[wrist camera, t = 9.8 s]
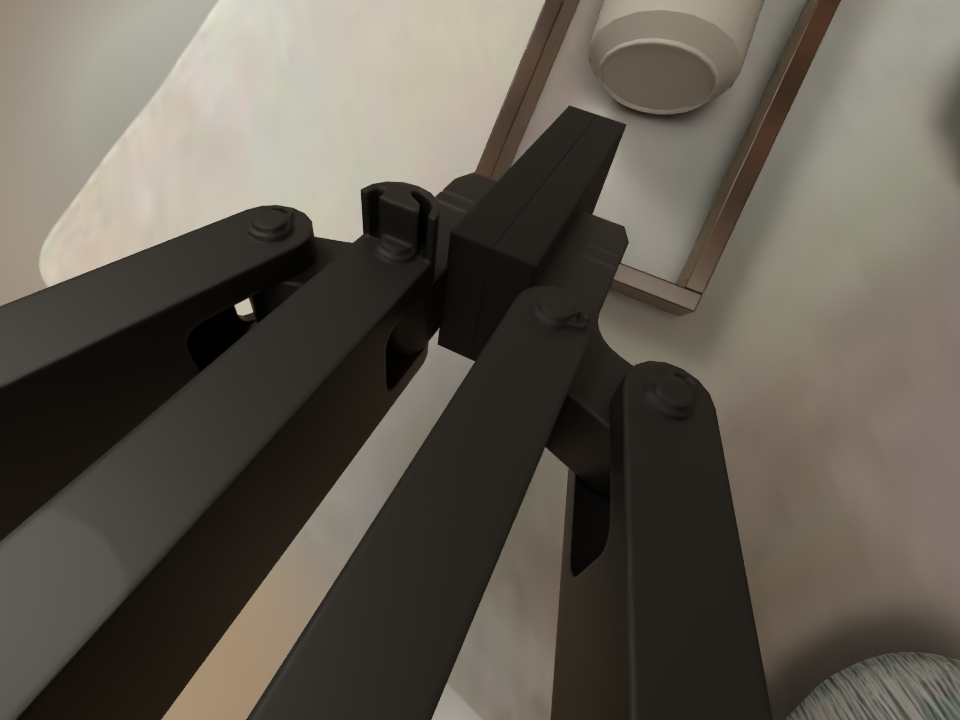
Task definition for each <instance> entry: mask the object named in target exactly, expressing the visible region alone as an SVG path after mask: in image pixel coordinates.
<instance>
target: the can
mask: <svg viewBox="0 0 960 720" xmlns="http://www.w3.org/2000/svg"><path fill="white" fill-rule="evenodd" d="M763 2H764V0H604V1H603V4H602V7H601V10H600V14H599V17H598V20H597V23H596V27H595V30H594V33H593V37H592V40H591V43H590V50H589V61H590V64H591V67H592V69H593V72H594V74H595V75H596V77H597V78H598V79H599V81H600V83H601V86H602V88H603V89H604V90H605V91H606V92H607V94H608V95H609V96H610V97H611V98H613V99H614V100H616V101H617V102H619V103H620V104H622V105H624V106H627V107H629V108H632V109H634V110H637V111H641V112H646V113H651V114H669V115H670V114H677V113H684V112H688V111H691V110H693V109H696V108H699V107H701V106H702V105H704V104H705V103H706V102H708V101H709V100H712V99H714V98H716V97H718V96H719V95H720V94H722V93H723V92H724V91H726V90H727V89H728V88H730V87H731V86H732V85H733V83H734V81H735V80H736V78H737V76H738V75H739V73H740V71H741V68H742V65H743V62H744V59H745V56H746V53H747V50H748V47H749V44H750V41H751V38H752V35H753V32H754V29H755V26H756V23H757V20H758V17H759V14H760V11H761V8H762V5H763Z"/></svg>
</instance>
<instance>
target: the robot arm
mask: <svg viewBox="0 0 960 720" xmlns="http://www.w3.org/2000/svg"><path fill="white" fill-rule="evenodd" d="M625 127H626V124H623V123H620V122H617V121H614V120H611V119H608V118H605V117H602V116H599V115H596V114H593V113H590V112H587V111H584V110H581V109H578V108H575V107H572V106H569V107H568V108H567V109H566V110H565V111H564V112H563V113H562V114H561V115H560V116H559V117H558V118H557V119H556V120H555V121H554V122H553V123H552V125H551V126H550V127H549V128H548V129H547V130H546V131H545V132H544V133H543V134H542V135H541V136H540V137H539V138H538V139H537V140H536V141H535V142H534V144H533V145H532V146H531V147H530V148H529V149H528V150H527V151H526V152H525V153H524V154H523V155H522V156H521V157H520V158H519V159H518V160H517V162H516V163H515V164H514V165H513V166H512V167H511V168H510V169H509V170H508V171H507V172H506V173H505V174H504V175H503V176H502V177H501V178H500V179H499V181H495V180H493V179H490V178H487V177H485V176H482V175H479V174H477V173H471V174H468V175H465V176H462V177H459V178H456V179H454V180H453V181H452V182H451V183H450V184H449V185H448V186H447V187H446V188H445V189H443V192H440V193H439V194H438V195H437V196H436V197H434V196H433V195H432V194H431V193H430V192H428V191H426V190H424V189H423V188H421V187H419V186H415V185H412V184H408V183H404V182H382V183H376V184H372V185H370V186H367V187H365V188H363V189H361V201H362V218H363V235H362V236H361V237H360V238H358V239H357V240H356V241H355V242H354V243H349V242H342V241H336V240H330V239H324V238H318V237H314V233H313V227H312V221H311V220H310V219H309V218H308V217H307V216H306V214H305V213H303V212H300V211H298V210H296V209H294V208H290V207H284V206H279V205H272V206H260V207H256V208H252V209H248V210H245V211H243V212H240V213H237V214H235V215H232V216H230V217H227V218H225V219H222V220H220V221H217V222H214V223H212V224H209V225H207V226H204V227H202V228H199V229H197V230H194V231H191V232H189V233H186V234H184V235H181V236H179V237H176V238H174V239H171V240H168V241H166V242H163V243H161V244H158V245H156V246H153V247H151V248H148V249H145V250H143V251H140V252H138V253H135V254H133V255H130V256H128V257H125V258H122V259H120V260H117V261H115V262H112V263H110V264H107V265H105V266H102V267H100V268H97V269H94V270H92V271H89V272H87V273H84V274H82V275H79V276H77V277H74V278H71V279H69V280H66V281H64V282H61V283H59V284H56V285H54V286H51V287H48V288H46V289H43V290H41V291H38V292H36V293H33V294H31V295H28V296H26V297H23V298H20V299H18V300H15V301H13V302H10V303H8V304H5V305H3V306H0V720H161V719H162V718H163V716H164V715H165V714H166V712H167V711H168V710H169V708H170V707H171V705H172V704H173V703H174V701H175V700H176V699H177V697H178V696H179V695H180V693H181V692H182V691H183V689H184V688H185V686H186V685H187V684H188V682H189V681H190V680H191V678H192V677H193V676H194V674H195V673H196V672H197V670H198V669H199V667H200V666H201V665H202V663H203V662H204V661H205V659H206V658H207V656H208V655H209V654H210V652H211V651H212V650H213V648H214V647H215V646H216V644H217V643H218V642H219V640H220V639H221V637H222V636H223V635H224V633H225V632H226V631H227V629H228V628H229V626H230V625H231V624H232V623H233V621H234V620H235V619H236V617H237V616H238V614H239V613H240V612H241V610H242V609H243V608H244V606H245V605H246V604H247V602H248V601H249V600H250V598H251V597H252V595H253V594H254V593H255V591H256V590H257V589H258V587H259V586H260V584H261V583H262V582H263V581H264V579H265V578H266V576H267V575H268V574H269V572H270V571H271V570H272V568H273V567H274V566H275V564H276V563H277V561H278V560H279V559H280V557H281V556H282V555H283V553H284V552H285V551H286V549H287V548H288V546H289V545H290V544H291V542H292V541H293V540H294V538H295V537H296V536H297V534H298V533H299V532H300V530H301V529H302V528H303V526H304V525H305V523H306V522H307V521H308V519H309V518H310V517H311V515H312V514H313V513H314V511H315V510H316V508H317V507H318V506H319V504H320V503H321V502H322V500H323V499H324V498H325V496H326V495H327V494H328V492H329V491H330V489H331V488H332V487H333V485H334V484H335V483H336V481H337V480H338V479H339V477H340V476H341V475H342V473H343V472H344V470H345V469H346V468H347V466H348V465H349V464H350V462H351V461H352V460H353V458H354V457H355V456H356V454H357V453H358V451H359V450H360V449H361V447H362V446H363V445H364V443H365V442H366V441H367V439H368V438H369V436H370V435H371V434H372V432H373V431H374V430H375V428H376V427H377V426H378V424H379V423H380V422H381V420H382V419H383V417H384V416H385V415H386V413H387V412H388V411H389V409H390V408H391V407H392V405H393V404H394V403H395V401H396V400H397V398H398V397H399V396H400V394H401V393H402V392H403V390H404V389H405V388H406V386H407V385H408V384H409V382H410V381H411V379H412V378H413V377H414V375H415V374H416V373H417V371H418V370H419V369H420V367H421V366H422V364H423V363H424V361H425V359H426V356H427V354H428V342H429V340H430V339H431V338H432V336H433V335H434V334H435V332H436V331H437V330H438V329H439V327H440V329H439V338H438V345H440V346H442V347H444V348H447V349H449V350H451V351H453V352H456V353H458V354H460V355H462V356H464V357H467V358H469V359H471V360H473V361H475V363H474V364H473V366H472V367H471V369H470V371H469V372H468V374H467V375H466V377H465V378H464V380H463V382H462V383H461V385H460V386H459V388H458V389H457V391H456V393H455V394H454V396H453V397H452V399H451V400H450V402H449V403H448V405H447V407H446V408H445V410H444V411H443V413H442V414H441V416H440V418H439V419H438V421H437V422H436V424H435V425H434V427H433V428H432V430H431V432H430V433H429V435H428V436H427V438H426V439H425V441H424V443H423V444H422V446H421V447H420V449H419V450H418V452H417V453H416V455H415V457H414V458H413V460H412V461H411V463H410V464H409V466H408V468H407V469H406V471H405V472H404V474H403V475H402V477H401V479H400V480H399V482H398V483H397V485H396V486H395V488H394V489H393V491H392V493H391V494H390V496H389V497H388V499H387V500H386V502H385V504H384V505H383V507H382V508H381V510H380V511H379V513H378V514H377V516H376V518H375V519H374V521H373V522H372V524H371V525H370V527H369V529H368V530H367V532H366V533H365V535H364V536H363V538H362V539H361V541H360V543H359V544H358V546H357V547H356V549H355V550H354V552H353V554H352V555H351V557H350V558H349V560H348V561H347V563H346V565H345V566H344V568H343V569H342V571H341V572H340V574H339V575H338V577H337V579H336V580H335V582H334V583H333V585H332V586H331V588H330V590H329V591H328V593H327V594H326V596H325V598H324V599H323V600H322V602H321V604H320V605H319V607H318V608H317V610H316V611H315V613H314V615H313V616H312V618H311V619H310V621H309V622H308V624H307V625H306V627H305V629H304V630H303V632H302V633H301V635H300V636H299V638H298V640H297V641H296V643H295V644H294V646H293V647H292V649H291V651H290V652H289V654H288V655H287V657H286V658H285V660H284V661H283V663H282V665H281V666H280V668H279V669H278V671H277V672H276V674H275V676H274V677H273V679H272V680H271V682H270V683H269V685H268V686H267V688H266V690H265V691H264V693H263V694H262V696H261V698H260V699H259V701H258V702H257V704H256V705H255V707H254V708H253V710H252V711H251V713H250V715H249V716H248V718H247V719H246V720H431V719H432V717H433V714H434V712H435V709H436V707H437V705H438V702H439V700H440V697H441V695H442V693H443V690H444V688H445V685H446V683H447V681H448V678H449V676H450V673H451V671H452V669H453V666H454V664H455V661H456V659H457V657H458V654H459V652H460V649H461V647H462V645H463V642H464V640H465V638H466V635H467V633H468V630H469V628H470V626H471V623H472V621H473V618H474V616H475V614H476V611H477V609H478V606H479V604H480V602H481V599H482V597H483V594H484V592H485V590H486V587H487V585H488V582H489V580H490V578H491V575H492V573H493V570H494V568H495V566H496V563H497V561H498V558H499V556H500V554H501V551H502V549H503V547H504V544H505V542H506V539H507V537H508V535H509V532H510V530H511V527H512V525H513V523H514V520H515V518H516V515H517V513H518V511H519V508H520V506H521V503H522V501H523V499H524V496H525V494H526V491H527V489H528V487H529V484H530V482H531V479H532V477H533V475H534V472H535V470H536V467H537V465H538V463H539V460H540V458H541V456H542V453H543V451H544V448H545V447H546V448H547V449H548V450H549V451H551V452H552V453H553V454H554V455H555V456H556V457H557V458H558V459H560V460H561V461H562V462H563V463H564V464H565V465H566V466H567V467H568V468H569V470H568V482H567V496H566V511H565V525H564V539H563V553H562V567H561V582H560V596H559V610H558V624H557V638H556V653H555V667H554V681H553V695H552V709H551V720H773V718H772V713H771V707H770V702H769V696H768V691H767V685H766V680H765V675H764V669H763V664H762V658H761V653H760V647H759V642H758V637H757V631H756V626H755V620H754V615H753V610H752V604H751V599H750V593H749V588H748V582H747V577H746V572H745V566H744V561H743V555H742V550H741V544H740V539H739V534H738V528H737V523H736V517H735V512H734V507H733V501H732V496H731V490H730V485H729V479H728V474H727V469H726V463H725V458H724V452H723V447H722V441H721V436H720V431H719V425H718V420H717V414H716V409H715V406H714V404H713V401H712V399H711V396H710V394H709V392H708V391H707V390H706V389H705V388H704V387H703V385H702V384H701V383H700V382H699V381H698V380H697V379H696V378H695V377H693V376H692V375H690V374H689V373H687V372H686V371H685V370H683V369H681V368H679V367H676V366H674V365H671V364H668V363H666V362H655V361H647V362H644V363H640V364H636V365H635V366H633V365H631V364H630V363H628V362H627V361H626V360H624V359H623V358H622V357H620V356H619V355H618V354H617V353H616V352H615V351H613V350H612V349H611V348H610V347H609V345H608V344H607V343H606V342H605V340H604V339H603V337H602V335H601V333H600V331H599V326H598V317H599V313H600V310H601V308H602V305H603V303H604V301H605V298H606V296H607V293H608V291H609V289H610V286H611V284H612V281H613V279H614V277H615V274H616V272H617V269H618V267H619V265H620V262H621V260H622V257H623V255H624V253H625V250H626V248H627V245H628V243H629V242H628V238H627V235H626V231H625V227H624V226H621V225H618V224H616V223H613V222H610V221H608V220H605V219H602V218H600V217H597V216H594V215H592V214H593V211H594V209H595V206H596V203H597V201H598V198H599V195H600V193H601V190H602V188H603V185H604V182H605V180H606V177H607V174H608V172H609V169H610V166H611V164H612V161H613V158H614V156H615V153H616V151H617V148H618V145H619V143H620V140H621V137H622V135H623V132H624V129H625ZM247 298H249V300H250V303H251V306H252V309H253V313H251V314H247V315H244V316H241V315H237V312H236V309H235V307H234V305H236V304H238V303H240V302H241V301H243V300H245V299H247Z"/></svg>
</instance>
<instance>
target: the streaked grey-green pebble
mask: <svg viewBox="0 0 960 720" xmlns="http://www.w3.org/2000/svg"><path fill="white" fill-rule="evenodd" d="M786 720H960V660H957V659H954V658H950V657H946V656H943V655H937V654H930V653H923V652H908V651H902V652H896V653H889V654H883V655H879V656H875V657H872V658H868V659H865V660H862V661H859V662H857V663H855V664H853V665H851V666H849V667H847V668H846V669H844V670H842V671H839V672H837V673H835V674H833V675H832V676H830V677H828V678H827V679H826V680H824V681H823V682H822V683H820V684H819V685H818V686H817V687H816V688H815V689H814V690H813V691H812V692H811V693H810V694H809V695H808V696H807V697H806V698H805V699H804V700H802V702H801V703H800V704H799V705H798V706H797V707H796V708H795V709H794V710H793V712H792V713H791V714H790V715H789V716H788V717H787V719H786Z"/></svg>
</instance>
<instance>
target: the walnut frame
mask: <svg viewBox="0 0 960 720" xmlns="http://www.w3.org/2000/svg"><path fill="white" fill-rule="evenodd" d="M840 1H841V0H808V1H807V3H806V5H805V7H804V9H803V11H802V13H801V16H800V18H799V20H798V22H797V24H796V26H795V29H794V31H793V33H792V35H791V37H790V39H789V42H788V44H787V46H786V48H785V50H784V52H783V55H782V57H781V59H780V61H779V63H778V65H777V68H776V70H775V72H774V74H773V76H772V78H771V81H770V83H769V85H768V87H767V89H766V91H765V93H764V96H763V98H762V100H761V102H760V104H759V106H758V109H757V111H756V113H755V115H754V117H753V119H752V122H751V124H750V126H749V128H748V130H747V132H746V135H745V137H744V139H743V141H742V143H741V145H740V148H739V150H738V152H737V154H736V156H735V158H734V161H733V163H732V165H731V167H730V169H729V171H728V174H727V176H726V178H725V180H724V182H723V184H722V186H721V189H720V191H719V193H718V195H717V197H716V199H715V202H714V204H713V206H712V208H711V210H710V212H709V215H708V217H707V219H706V221H705V223H704V225H703V228H702V230H701V232H700V234H699V236H698V238H697V241H696V243H695V245H694V247H693V249H692V251H691V254H690V256H689V258H688V260H687V262H686V264H685V266H684V269H683V271H682V273H681V275H680V277H679V279H678V282H677V284H674V283H671V282H669V281H666V280H663V279H661V278H658V277H656V276H653V275H650V274H648V273H645V272H643V271H640V270H637V269H635V268H632V267H630V266H627V265H624V264H622V263H620V265H619V267H618V269H617V272H616V274H615V277H614V279H613V281H612V284H611V286H610V289H613V290H615V291H618V292H620V293H623V294H625V295H628V296H630V297H633V298H635V299H638V300H640V301H643V302H645V303H648V304H650V305H653V306H656V307H658V308H661V309H663V310H666V311H668V312H671V313H673V314H676V315H678V316H682V315H685V314H689V313H692V312H695V310H696V308H697V306H698V304H699V302H700V299H701V297H702V294H703V293H704V291H705V289H706V287H707V284H708V282H709V280H710V278H711V276H712V274H713V272H714V270H715V267H716V265H717V263H718V261H719V259H720V257H721V255H722V253H723V250H724V248H725V246H726V244H727V242H728V240H729V238H730V235H731V233H732V231H733V229H734V227H735V225H736V223H737V221H738V218H739V216H740V214H741V212H742V210H743V208H744V206H745V204H746V201H747V199H748V197H749V195H750V193H751V191H752V189H753V186H754V184H755V182H756V180H757V178H758V176H759V174H760V172H761V169H762V167H763V165H764V163H765V161H766V159H767V157H768V154H769V152H770V150H771V148H772V146H773V144H774V142H775V140H776V137H777V135H778V133H779V131H780V129H781V127H782V125H783V123H784V120H785V118H786V116H787V114H788V112H789V110H790V108H791V105H792V103H793V101H794V99H795V97H796V95H797V93H798V91H799V88H800V86H801V84H802V82H803V80H804V78H805V76H806V73H807V71H808V69H809V67H810V65H811V63H812V61H813V59H814V56H815V54H816V52H817V50H818V48H819V46H820V44H821V42H822V39H823V37H824V35H825V33H826V31H827V29H828V27H829V24H830V22H831V20H832V18H833V16H834V14H835V12H836V10H837V7H838V5H839V3H840ZM578 2H579V0H545V3H544V5H543V8H542V10H541V13H540V15H539V18H538V20H537V22H536V25H535V27H534V30H533V32H532V35H531V37H530V40H529V42H528V44H527V47H526V49H525V52H524V54H523V57H522V59H521V61H520V64H519V66H518V69H517V71H516V74H515V76H514V79H513V81H512V83H511V86H510V88H509V91H508V93H507V96H506V98H505V101H504V103H503V105H502V108H501V110H500V113H499V115H498V118H497V120H496V123H495V125H494V127H493V130H492V132H491V135H490V137H489V140H488V142H487V145H486V147H485V149H484V152H483V154H482V157H481V159H480V162H479V164H478V166H477V169H476V171H475V173H477V174H479V175H482V176H485V177H487V178H490V179H493V180H495V181H499V179H500V178H501V177H502V176H503V175H504V174H505V173H506V172H507V171H508V170H509V168H510V166H511V163H512V161H513V159H514V156H515V154H516V151H517V149H518V147H519V144H520V142H521V139H522V137H523V135H524V132H525V130H526V127H527V125H528V123H529V120H530V118H531V115H532V113H533V111H534V108H535V106H536V103H537V101H538V98H539V96H540V94H541V91H542V89H543V86H544V84H545V82H546V79H547V77H548V74H549V72H550V70H551V67H552V65H553V62H554V60H555V58H556V55H557V53H558V50H559V48H560V46H561V43H562V41H563V38H564V36H565V34H566V31H567V29H568V26H569V24H570V22H571V19H572V17H573V14H574V12H575V10H576V7H577V5H578Z"/></svg>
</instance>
